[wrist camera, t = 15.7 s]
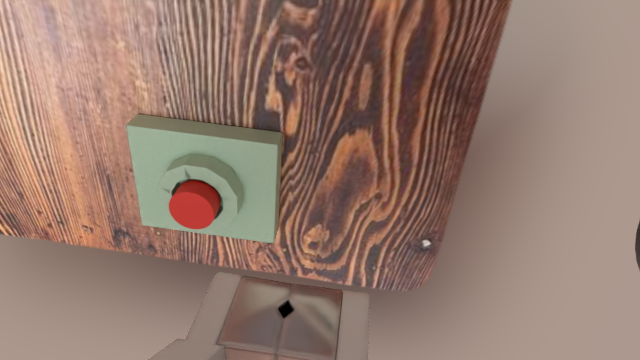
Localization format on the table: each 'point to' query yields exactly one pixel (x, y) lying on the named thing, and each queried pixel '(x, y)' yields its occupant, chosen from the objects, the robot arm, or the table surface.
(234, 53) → the table surface
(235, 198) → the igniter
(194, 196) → the button
